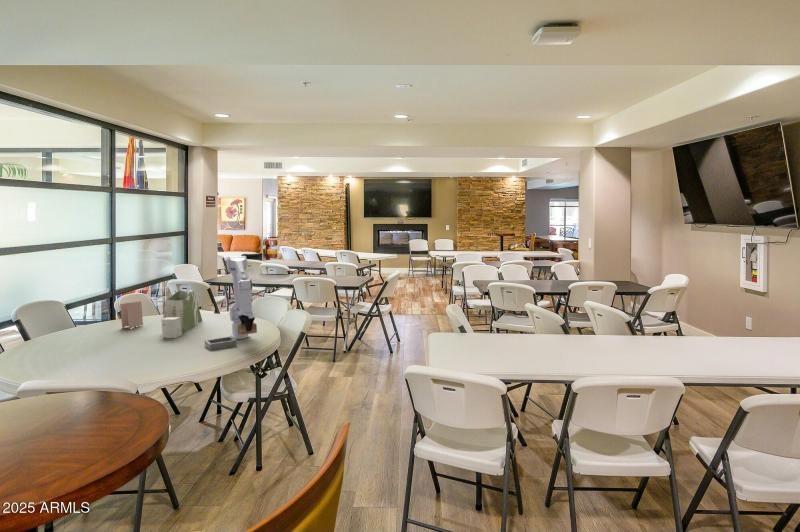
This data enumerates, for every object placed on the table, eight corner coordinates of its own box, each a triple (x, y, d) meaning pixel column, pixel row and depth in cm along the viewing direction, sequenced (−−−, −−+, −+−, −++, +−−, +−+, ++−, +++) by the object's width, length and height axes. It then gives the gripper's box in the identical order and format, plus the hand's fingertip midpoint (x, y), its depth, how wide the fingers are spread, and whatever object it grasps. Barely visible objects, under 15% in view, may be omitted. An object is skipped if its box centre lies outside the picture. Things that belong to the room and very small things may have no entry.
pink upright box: (142, 325, 299) (140, 301, 298) (146, 327, 294) (144, 302, 292) (121, 328, 291) (119, 303, 290) (125, 330, 286) (123, 305, 284)
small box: (181, 335, 271) (180, 317, 270) (176, 338, 266) (175, 319, 265) (168, 335, 272) (167, 317, 271) (162, 338, 266) (161, 319, 265)
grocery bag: (187, 332, 278) (185, 292, 276) (162, 334, 276) (159, 293, 274) (203, 320, 310) (201, 284, 307) (180, 321, 308) (178, 285, 306)
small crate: (237, 333, 245) (237, 324, 245) (253, 330, 250) (253, 322, 249) (240, 335, 241) (240, 326, 241) (256, 332, 246) (256, 323, 245)
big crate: (204, 346, 248) (204, 340, 248) (230, 341, 256) (230, 336, 255) (210, 350, 240) (209, 344, 240) (236, 345, 248) (236, 340, 247)
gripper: (233, 302, 247) (234, 328, 249) (242, 306, 236) (243, 334, 237) (247, 300, 251) (248, 326, 253) (256, 304, 240) (258, 331, 241)
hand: (247, 330), depth 245 cm, fingers closed on small crate, 5 cm apart
